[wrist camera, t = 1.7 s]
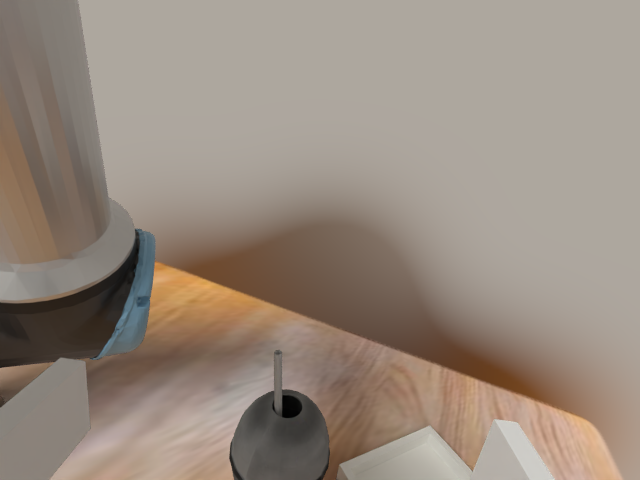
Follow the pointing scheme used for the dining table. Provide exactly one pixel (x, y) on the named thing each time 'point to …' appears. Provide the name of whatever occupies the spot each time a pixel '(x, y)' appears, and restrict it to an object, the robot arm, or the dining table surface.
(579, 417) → the dining table surface
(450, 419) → the dining table surface
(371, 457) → the tray
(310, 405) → the beverage cup
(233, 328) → the dining table surface
